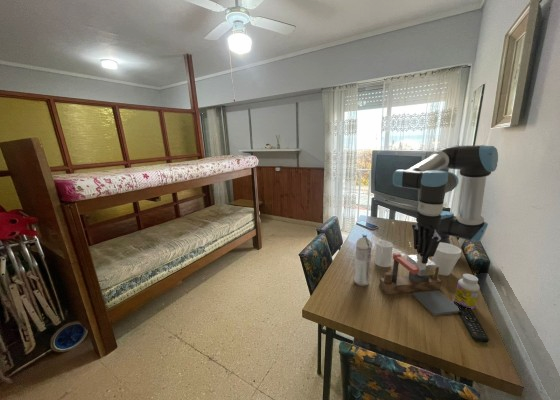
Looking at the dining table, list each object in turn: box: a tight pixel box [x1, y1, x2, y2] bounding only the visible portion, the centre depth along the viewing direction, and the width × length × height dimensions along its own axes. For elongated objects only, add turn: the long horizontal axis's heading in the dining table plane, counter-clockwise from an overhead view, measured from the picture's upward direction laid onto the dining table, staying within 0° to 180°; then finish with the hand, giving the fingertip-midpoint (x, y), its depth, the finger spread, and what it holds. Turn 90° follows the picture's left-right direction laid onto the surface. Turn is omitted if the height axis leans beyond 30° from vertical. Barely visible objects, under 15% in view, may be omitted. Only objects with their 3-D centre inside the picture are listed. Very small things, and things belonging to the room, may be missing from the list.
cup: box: [431, 242, 462, 276], centre depth 111 cm, size 12×12×14 cm
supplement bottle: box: [454, 273, 480, 310], centre depth 89 cm, size 7×7×13 cm
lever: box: [392, 252, 419, 274], centre depth 92 cm, size 13×3×2 cm, turn 9°
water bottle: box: [353, 233, 373, 287], centre depth 103 cm, size 7×7×25 cm
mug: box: [374, 239, 394, 268], centre depth 119 cm, size 12×8×12 cm
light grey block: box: [406, 254, 437, 276], centre depth 99 cm, size 7×9×5 cm
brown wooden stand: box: [379, 259, 442, 295], centre depth 100 cm, size 26×6×15 cm, turn 96°
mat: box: [412, 289, 460, 316], centre depth 91 cm, size 12×12×1 cm
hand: (420, 268), depth 87 cm, fingers closed
